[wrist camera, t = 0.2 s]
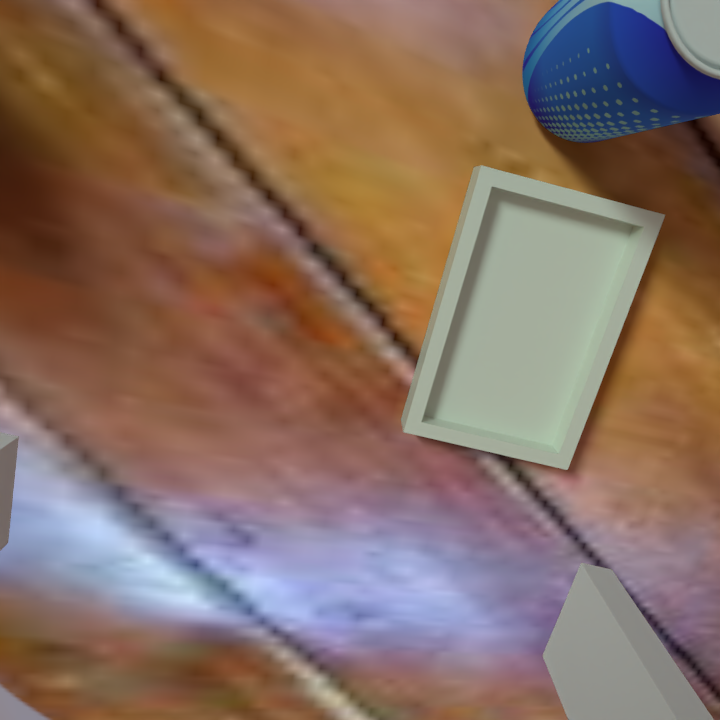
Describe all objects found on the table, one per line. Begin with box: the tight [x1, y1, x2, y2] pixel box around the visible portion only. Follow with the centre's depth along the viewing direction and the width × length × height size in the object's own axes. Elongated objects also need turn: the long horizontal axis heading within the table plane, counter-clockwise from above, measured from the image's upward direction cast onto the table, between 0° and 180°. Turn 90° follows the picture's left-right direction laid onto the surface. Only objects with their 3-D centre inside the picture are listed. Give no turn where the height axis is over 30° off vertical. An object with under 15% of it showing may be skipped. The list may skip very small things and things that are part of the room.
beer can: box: [522, 0, 720, 143], centre depth 28 cm, size 8×8×16 cm
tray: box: [401, 165, 665, 470], centre depth 39 cm, size 18×12×2 cm, turn 166°
